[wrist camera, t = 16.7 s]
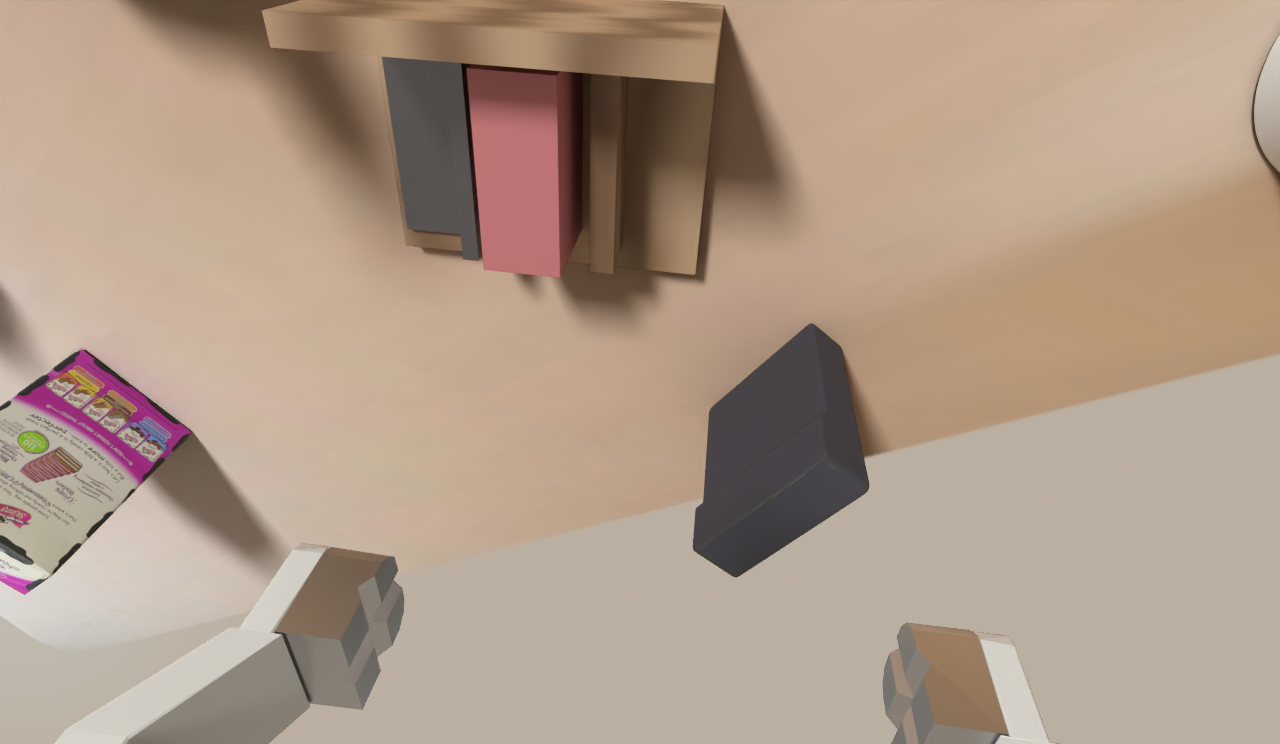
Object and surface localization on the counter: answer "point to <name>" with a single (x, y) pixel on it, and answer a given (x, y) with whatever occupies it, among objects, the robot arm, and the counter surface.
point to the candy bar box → (72, 462)
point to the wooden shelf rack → (612, 99)
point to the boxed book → (527, 166)
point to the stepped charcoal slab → (779, 455)
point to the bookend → (435, 147)
